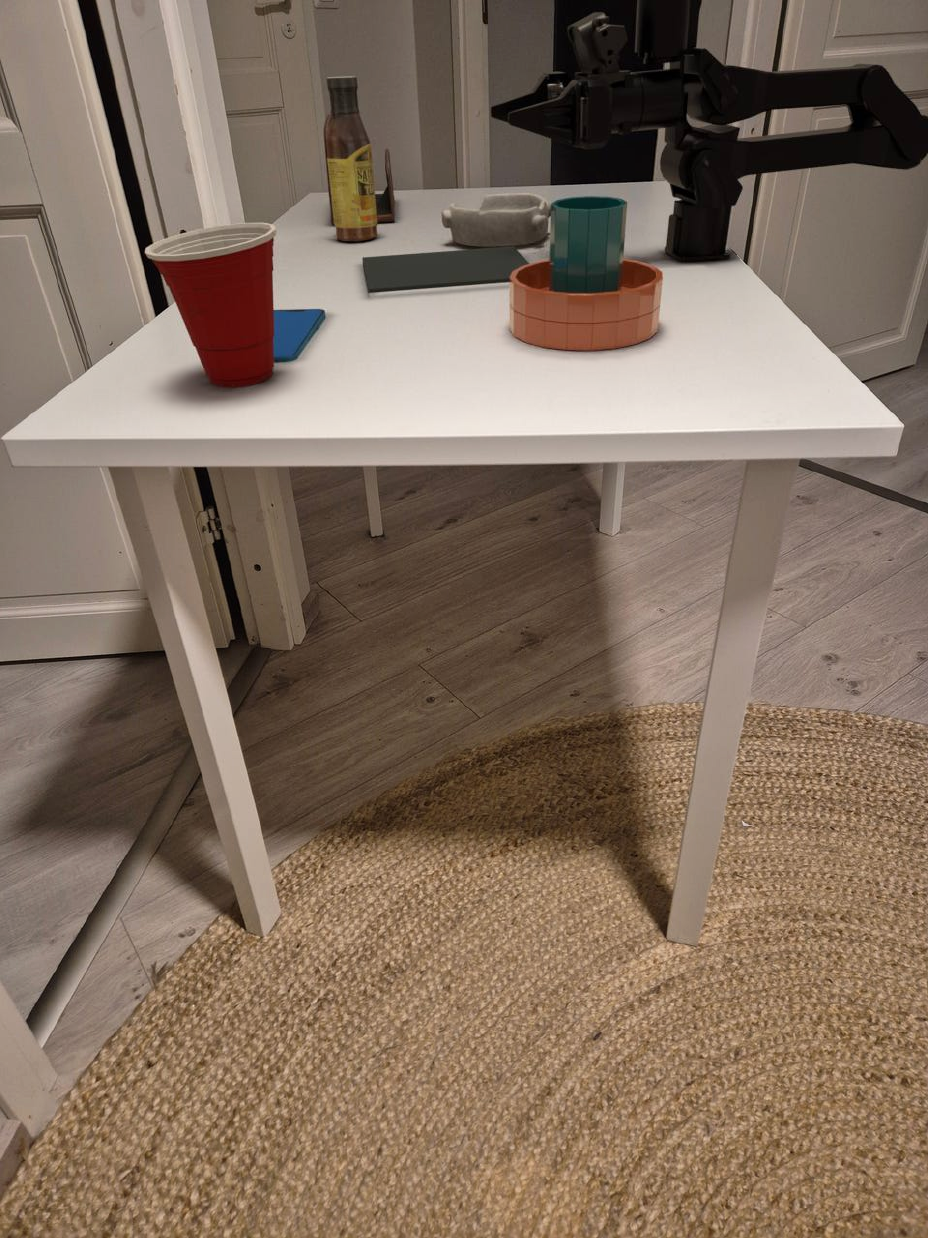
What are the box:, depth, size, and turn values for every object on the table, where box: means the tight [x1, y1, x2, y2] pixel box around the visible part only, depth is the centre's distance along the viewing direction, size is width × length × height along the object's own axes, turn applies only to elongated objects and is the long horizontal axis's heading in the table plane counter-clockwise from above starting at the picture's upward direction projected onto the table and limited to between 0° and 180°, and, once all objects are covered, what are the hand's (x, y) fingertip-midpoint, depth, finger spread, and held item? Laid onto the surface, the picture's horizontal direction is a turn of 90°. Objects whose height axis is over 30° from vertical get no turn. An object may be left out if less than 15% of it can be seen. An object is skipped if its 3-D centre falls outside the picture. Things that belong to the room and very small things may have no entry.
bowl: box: [508, 258, 664, 352], centre depth 79 cm, size 14×14×6 cm
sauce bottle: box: [326, 75, 378, 242], centre depth 115 cm, size 6×6×20 cm
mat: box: [361, 245, 530, 298], centre depth 101 cm, size 20×16×1 cm
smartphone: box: [273, 308, 326, 363], centre depth 84 cm, size 7×1×15 cm
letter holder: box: [322, 113, 396, 227], centre depth 133 cm, size 10×20×14 cm, turn 4°
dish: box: [441, 192, 551, 248], centre depth 115 cm, size 14×14×5 cm
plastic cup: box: [144, 222, 277, 388], centre depth 71 cm, size 11×11×12 cm
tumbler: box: [549, 195, 628, 293], centre depth 77 cm, size 7×7×11 cm
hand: (499, 114), depth 92 cm, fingers open, 9 cm apart
